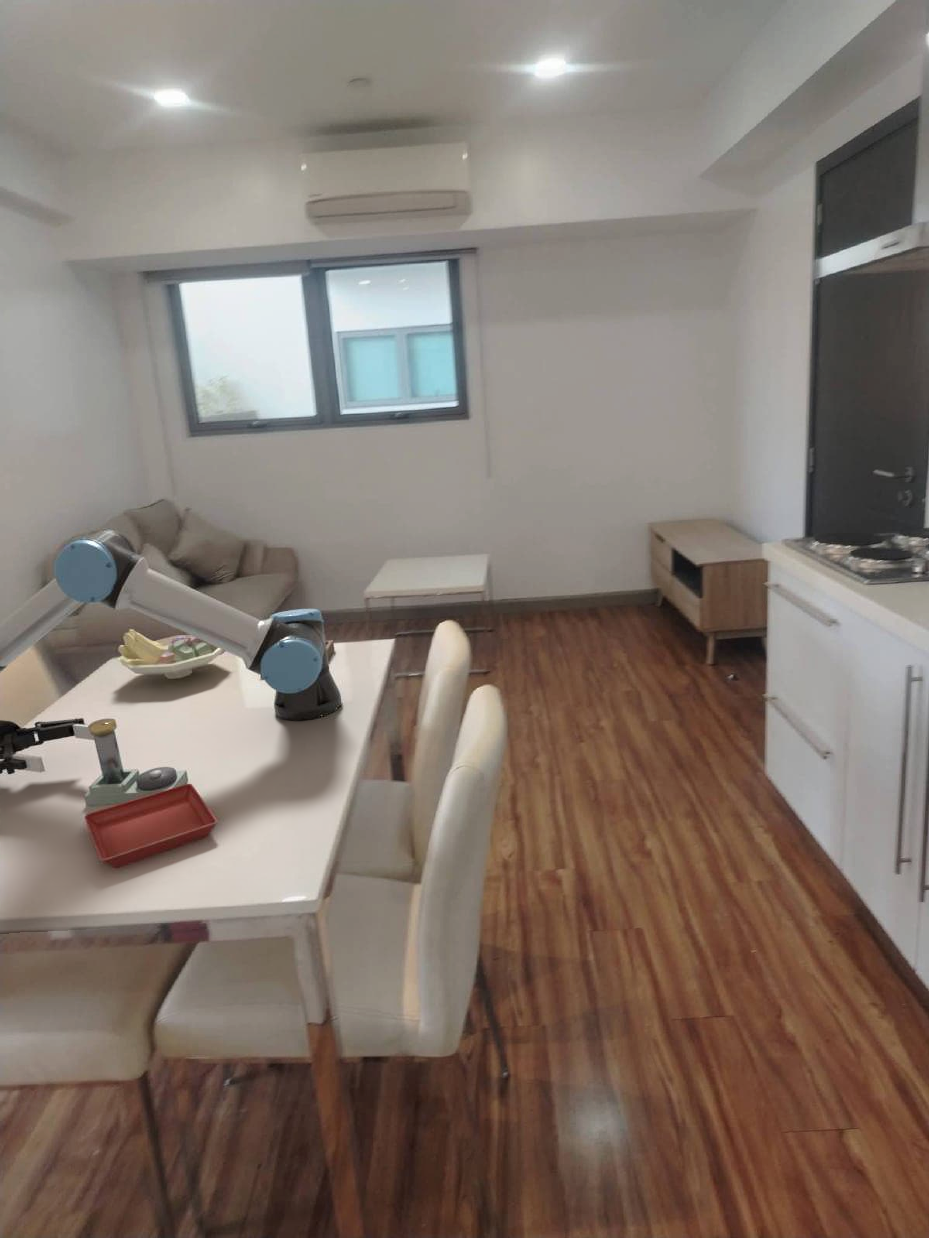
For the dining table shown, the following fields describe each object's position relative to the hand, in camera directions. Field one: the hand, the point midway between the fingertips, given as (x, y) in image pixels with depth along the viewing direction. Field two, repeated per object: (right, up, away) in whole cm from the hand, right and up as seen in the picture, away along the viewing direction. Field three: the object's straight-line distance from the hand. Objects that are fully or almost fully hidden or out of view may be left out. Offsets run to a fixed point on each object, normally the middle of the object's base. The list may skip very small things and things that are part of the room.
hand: (72, 748), depth 149 cm
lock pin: (+9, -6, -1) cm, 11 cm away
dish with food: (-3, +9, +64) cm, 65 cm away
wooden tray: (+29, +13, +65) cm, 73 cm away
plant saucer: (+21, -12, -16) cm, 29 cm away
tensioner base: (+13, -8, -1) cm, 15 cm away
